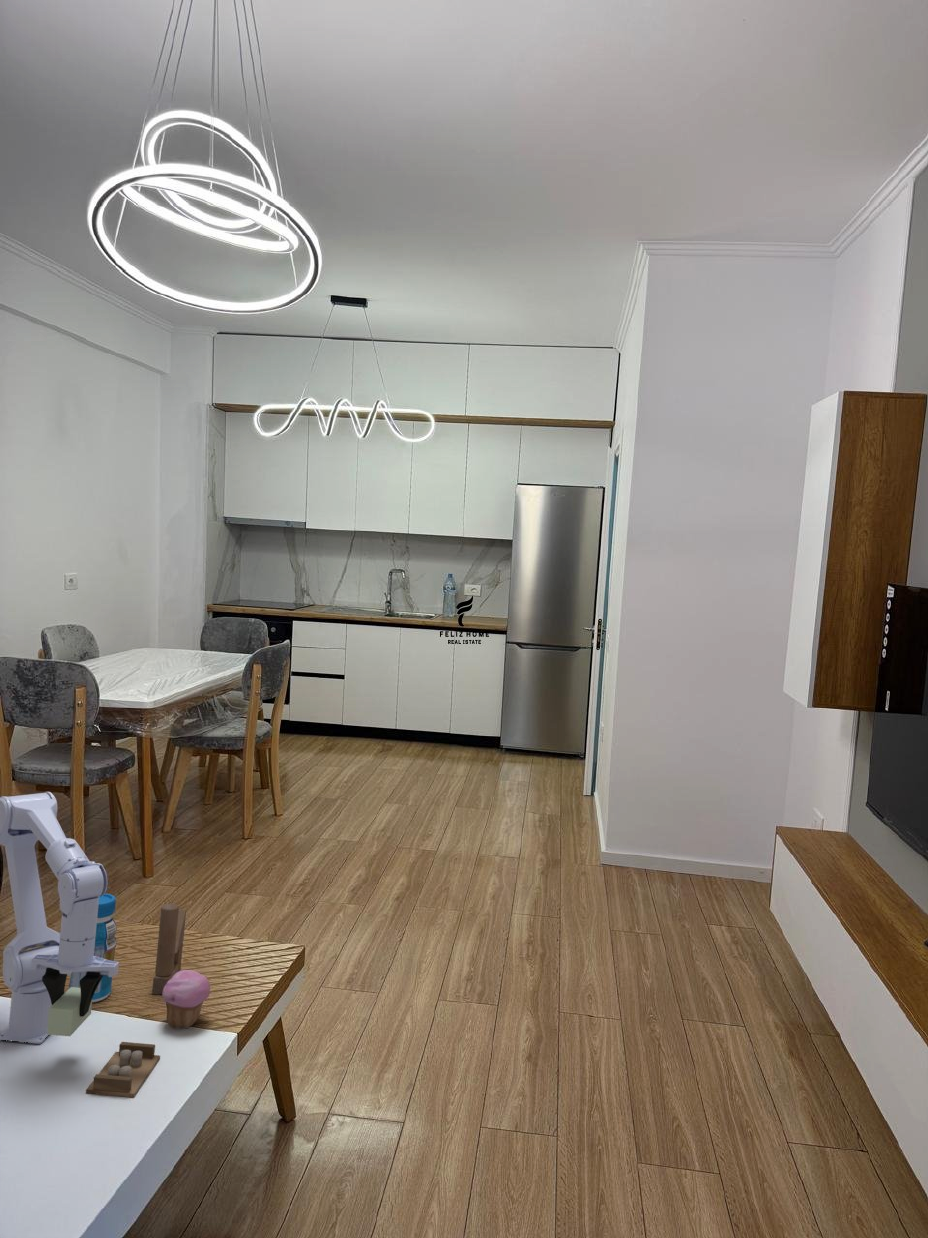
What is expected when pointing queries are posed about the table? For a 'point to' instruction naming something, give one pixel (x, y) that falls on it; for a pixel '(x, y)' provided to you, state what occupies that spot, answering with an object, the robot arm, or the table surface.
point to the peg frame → (125, 1070)
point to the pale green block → (66, 1013)
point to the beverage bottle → (102, 945)
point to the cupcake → (185, 997)
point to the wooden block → (169, 945)
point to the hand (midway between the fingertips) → (70, 1012)
